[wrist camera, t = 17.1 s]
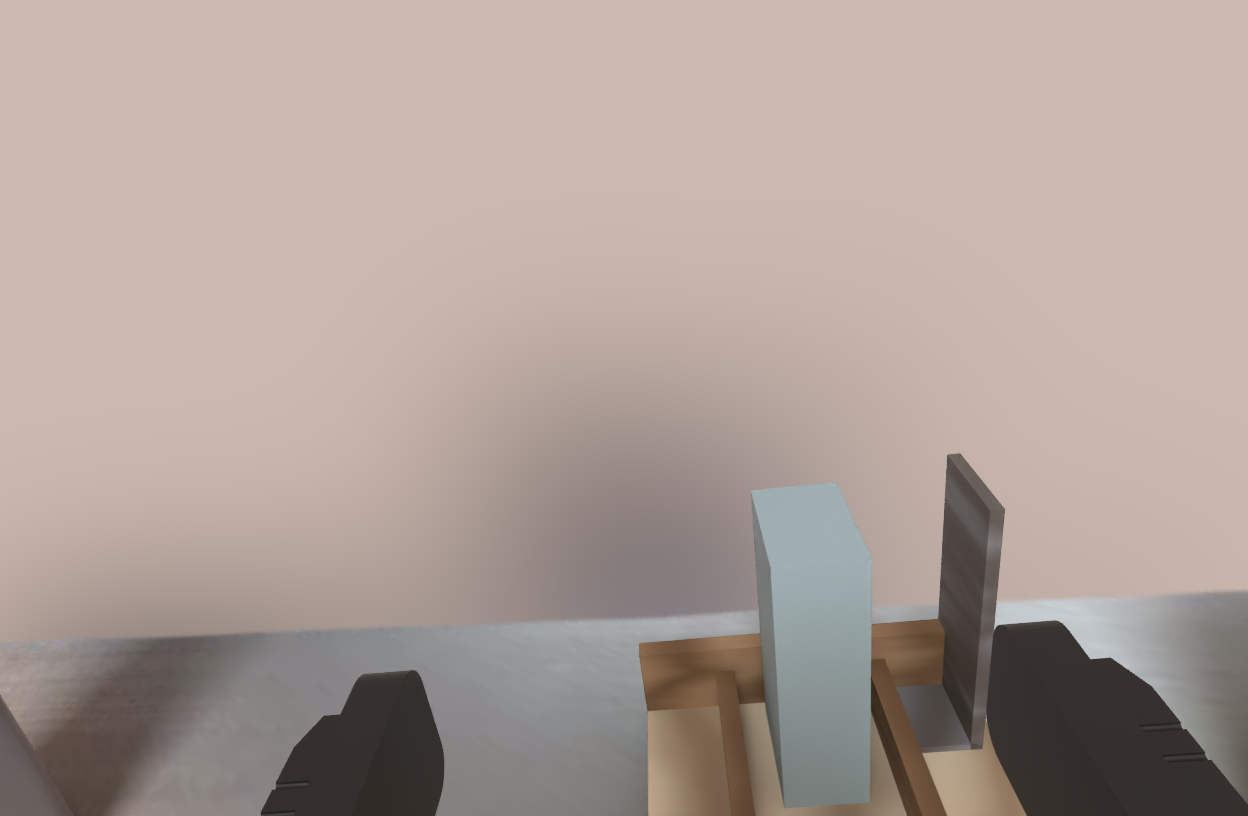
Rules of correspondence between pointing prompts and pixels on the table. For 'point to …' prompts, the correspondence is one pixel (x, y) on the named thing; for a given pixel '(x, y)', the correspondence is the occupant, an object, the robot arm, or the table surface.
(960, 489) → the wooden holder stand
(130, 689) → the table surface
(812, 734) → the pale blue rectangular block
